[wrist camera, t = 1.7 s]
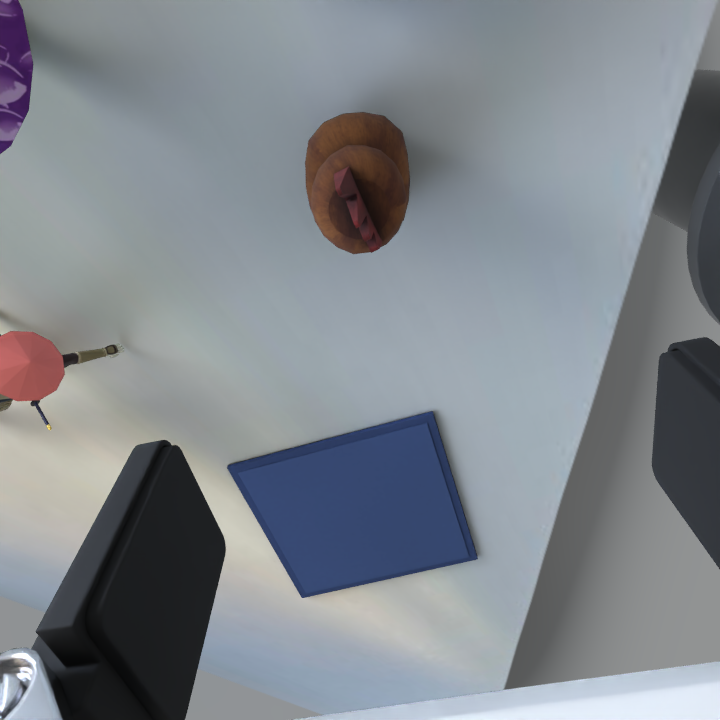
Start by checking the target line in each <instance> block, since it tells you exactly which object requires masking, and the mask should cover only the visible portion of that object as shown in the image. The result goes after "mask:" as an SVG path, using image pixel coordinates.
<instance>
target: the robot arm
mask: <svg viewBox="0 0 720 720" xmlns="http://www.w3.org/2000/svg"><path fill="white" fill-rule="evenodd" d="M652 468H653V472H654V475H655V477H656V480H657V481H658V483H659V484H660V486H661V487H662V489H663V490H664V491H665V493H666V494H667V496H668V497H669V499H670V500H671V501H672V503H673V504H674V505H675V507H676V508H677V510H678V511H679V513H680V514H681V515H682V517H683V518H684V519H685V521H686V522H687V524H688V525H689V527H690V528H691V529H692V531H693V532H694V534H695V535H696V536H697V538H698V539H699V541H700V542H701V543H702V545H703V546H704V548H705V549H706V550H707V552H708V553H709V555H710V556H711V558H712V559H713V560H714V562H715V563H716V565H717V566H718V567H719V569H720V346H718V345H717V344H716V343H715V342H713V341H712V340H710V339H709V338H705V337H704V338H698V339H692V340H687V341H682V342H677V343H673V344H671V345H670V346H669V348H668V352H666V353H662V354H661V356H660V359H659V367H658V382H657V396H656V410H655V426H654V441H653V454H652ZM225 551H226V547H225V540H224V537H223V534H222V532H221V530H220V528H219V526H218V524H217V522H216V520H215V518H214V516H213V514H212V512H211V510H210V508H209V506H208V504H207V502H206V500H205V498H204V495H203V493H202V491H201V489H200V487H199V485H198V483H197V481H196V479H195V477H194V475H193V473H192V471H191V469H190V467H189V465H188V463H187V461H186V459H185V457H184V455H183V453H182V451H181V449H180V447H178V446H177V445H173V446H172V445H171V443H170V442H168V441H167V440H161V441H156V442H150V443H145V444H140V445H137V446H135V448H134V449H133V451H132V452H131V454H130V456H129V458H128V460H127V462H126V464H125V466H124V467H123V469H122V471H121V473H120V475H119V477H118V479H117V481H116V482H115V484H114V486H113V488H112V490H111V492H110V494H109V495H108V497H107V499H106V501H105V503H104V505H103V507H102V509H101V510H100V512H99V514H98V516H97V518H96V520H95V522H94V523H93V525H92V527H91V529H90V531H89V533H88V535H87V537H86V538H85V540H84V542H83V544H82V546H81V548H80V550H79V551H78V553H77V555H76V557H75V559H74V561H73V563H72V565H71V566H70V568H69V570H68V572H67V574H66V576H65V578H64V579H63V581H62V583H61V585H60V587H59V589H58V591H57V593H56V594H55V596H54V598H53V600H52V602H51V604H50V606H49V607H48V609H47V611H46V613H45V615H44V617H43V619H42V621H41V622H40V624H39V626H38V628H37V630H36V633H37V634H38V637H37V639H36V641H35V643H34V645H33V647H32V649H29V648H14V649H11V650H8V651H5V652H2V653H0V720H185V717H186V713H187V710H188V706H189V701H190V697H191V693H192V689H193V685H194V681H195V677H196V672H197V669H198V664H199V660H200V656H201V652H202V648H203V644H204V640H205V636H206V632H207V627H208V623H209V619H210V615H211V611H212V607H213V603H214V599H215V595H216V590H217V586H218V582H219V578H220V574H221V570H222V566H223V562H224V557H225ZM293 720H720V661H718V662H710V663H702V664H695V665H687V666H680V667H672V668H665V669H657V670H650V671H642V672H634V673H627V674H619V675H612V676H604V677H597V678H589V679H581V680H574V681H567V682H559V683H551V684H544V685H537V686H530V687H522V688H515V689H508V690H500V691H493V692H486V693H478V694H471V695H464V696H457V697H449V698H442V699H435V700H428V701H421V702H413V703H406V704H399V705H392V706H384V707H377V708H370V709H363V710H356V711H349V712H342V713H335V714H328V715H321V716H314V717H307V718H300V719H293Z"/></svg>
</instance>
